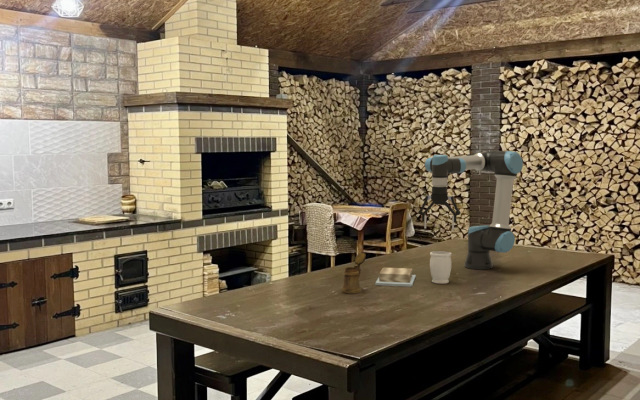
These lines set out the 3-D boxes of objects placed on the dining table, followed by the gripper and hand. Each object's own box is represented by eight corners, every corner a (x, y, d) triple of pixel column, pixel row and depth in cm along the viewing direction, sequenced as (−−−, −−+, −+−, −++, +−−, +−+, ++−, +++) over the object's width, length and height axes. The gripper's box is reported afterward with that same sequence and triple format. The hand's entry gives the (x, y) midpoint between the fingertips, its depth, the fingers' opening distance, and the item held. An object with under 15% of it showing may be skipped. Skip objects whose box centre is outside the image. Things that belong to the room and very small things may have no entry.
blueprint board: (415, 277, 346) (415, 274, 346) (412, 286, 325) (412, 284, 325) (381, 275, 350) (381, 273, 350) (375, 285, 329) (375, 282, 329)
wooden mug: (371, 289, 320) (371, 252, 318) (352, 294, 310) (352, 256, 308) (357, 286, 326) (357, 250, 324) (338, 291, 316) (338, 254, 315)
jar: (450, 280, 339) (450, 250, 338) (452, 284, 329) (452, 254, 328) (428, 279, 340) (429, 250, 339) (430, 284, 330) (430, 254, 329)
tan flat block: (412, 276, 343) (412, 268, 343) (409, 282, 329) (409, 274, 328) (383, 275, 346) (383, 267, 346) (379, 281, 332) (379, 273, 331)
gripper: (465, 185, 332) (464, 228, 334) (415, 185, 337) (414, 226, 339) (465, 187, 324) (464, 230, 326) (413, 186, 330) (413, 228, 332)
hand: (439, 228), depth 333 cm, fingers open, 13 cm apart
